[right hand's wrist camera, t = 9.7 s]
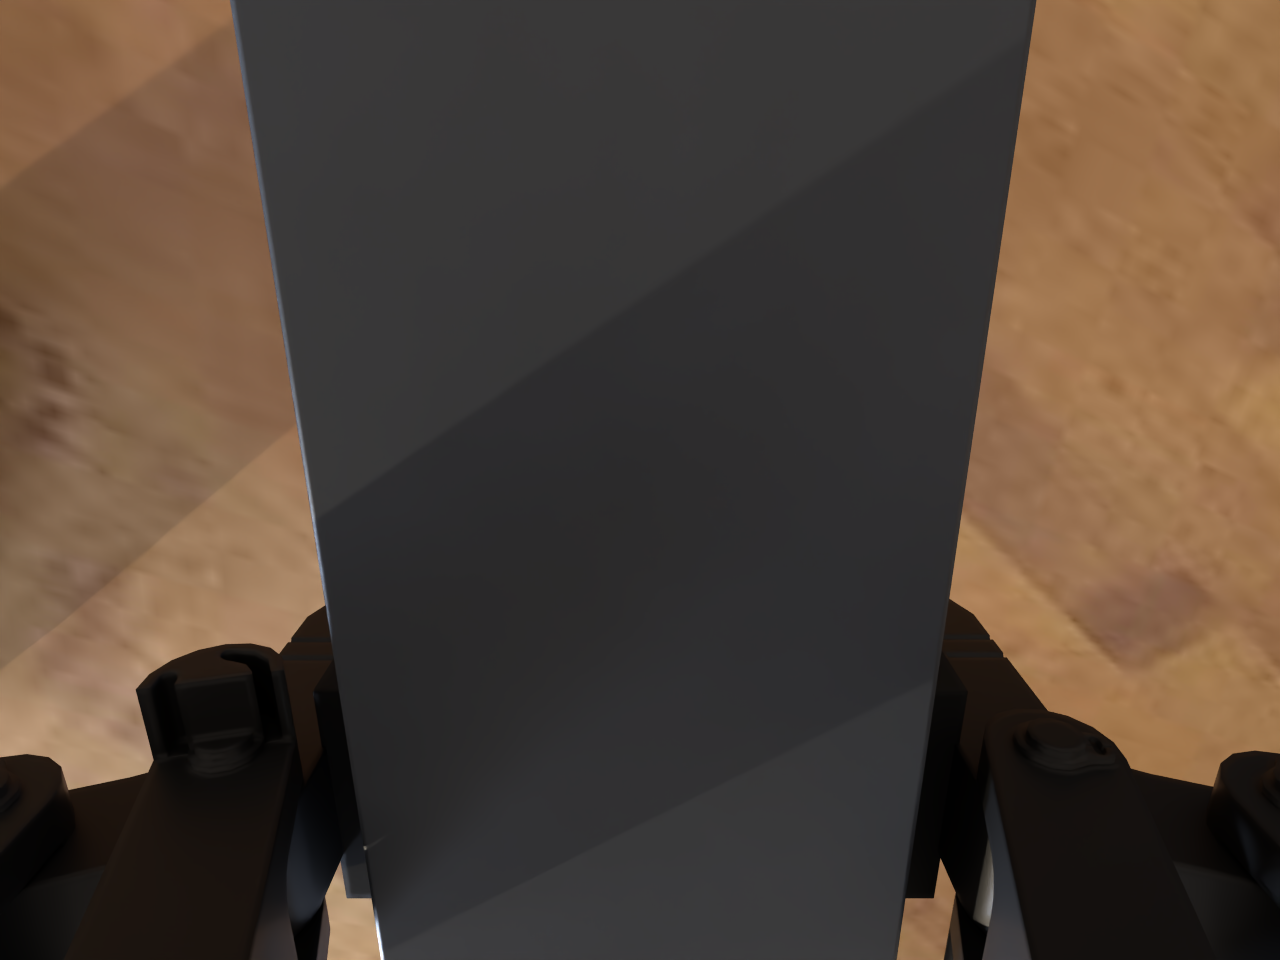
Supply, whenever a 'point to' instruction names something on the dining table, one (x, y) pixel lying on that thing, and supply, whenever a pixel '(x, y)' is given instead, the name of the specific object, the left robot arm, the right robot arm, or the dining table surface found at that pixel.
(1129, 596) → the dining table surface
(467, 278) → the beam
